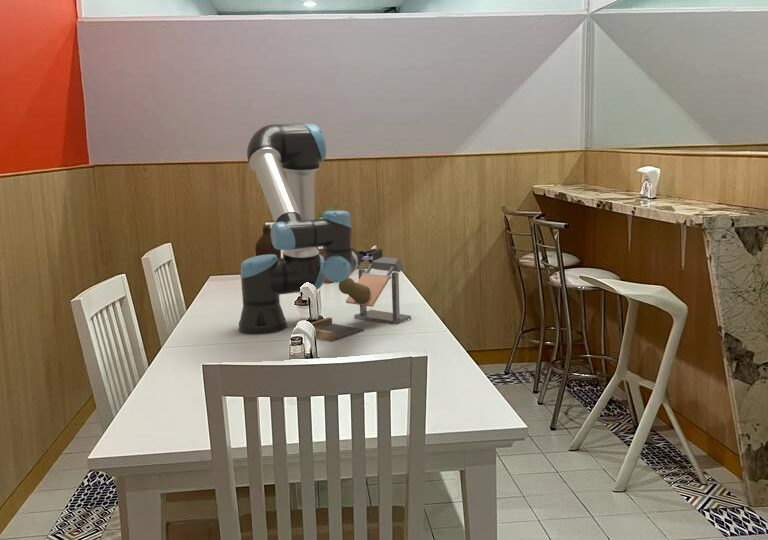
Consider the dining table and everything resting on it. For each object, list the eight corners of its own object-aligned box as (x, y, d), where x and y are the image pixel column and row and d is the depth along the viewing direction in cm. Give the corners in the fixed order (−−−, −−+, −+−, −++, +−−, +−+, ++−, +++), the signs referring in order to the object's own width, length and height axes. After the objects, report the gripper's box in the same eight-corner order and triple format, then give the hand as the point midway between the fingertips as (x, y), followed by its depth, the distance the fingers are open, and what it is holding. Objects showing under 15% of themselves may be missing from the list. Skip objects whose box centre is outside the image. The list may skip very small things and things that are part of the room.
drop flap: (376, 263, 252) (371, 256, 250) (403, 266, 245) (398, 258, 243) (349, 307, 243) (343, 300, 241) (377, 312, 236) (371, 304, 233)
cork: (353, 304, 238) (334, 294, 229) (355, 286, 240) (336, 275, 231) (369, 303, 235) (350, 292, 226) (371, 284, 237) (353, 273, 228)
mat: (305, 334, 231) (305, 332, 231) (333, 325, 241) (333, 323, 241) (336, 340, 223) (336, 338, 223) (364, 330, 233) (364, 328, 233)
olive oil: (287, 281, 320) (284, 223, 316) (272, 286, 311) (269, 226, 307) (267, 280, 325) (264, 223, 321) (252, 284, 316) (248, 226, 312)
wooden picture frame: (297, 334, 231) (296, 326, 230) (328, 324, 242) (328, 317, 241) (332, 341, 221) (331, 333, 221) (363, 330, 233) (363, 323, 232)
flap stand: (371, 313, 256) (369, 266, 254) (411, 319, 246) (409, 270, 243) (354, 318, 250) (352, 270, 247) (394, 324, 239) (392, 274, 236)
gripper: (309, 274, 220) (326, 261, 241) (384, 273, 216) (394, 261, 238) (308, 249, 218) (325, 238, 240) (383, 248, 215) (393, 238, 237)
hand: (359, 250), depth 239 cm, fingers open, 9 cm apart
